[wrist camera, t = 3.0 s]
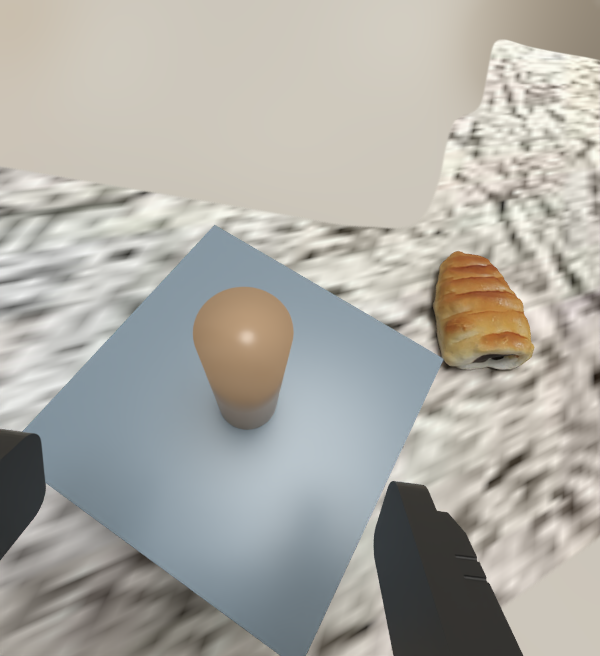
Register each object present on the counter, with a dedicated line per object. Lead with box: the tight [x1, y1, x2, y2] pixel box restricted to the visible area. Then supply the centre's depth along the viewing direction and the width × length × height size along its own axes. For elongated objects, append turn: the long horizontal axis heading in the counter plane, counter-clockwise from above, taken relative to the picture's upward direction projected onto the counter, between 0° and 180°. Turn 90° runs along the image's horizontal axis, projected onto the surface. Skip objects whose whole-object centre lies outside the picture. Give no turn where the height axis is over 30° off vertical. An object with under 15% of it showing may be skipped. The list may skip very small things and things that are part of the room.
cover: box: [22, 225, 443, 656], centre depth 17 cm, size 14×14×16 cm
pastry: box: [433, 251, 534, 370], centre depth 28 cm, size 9×7×4 cm
